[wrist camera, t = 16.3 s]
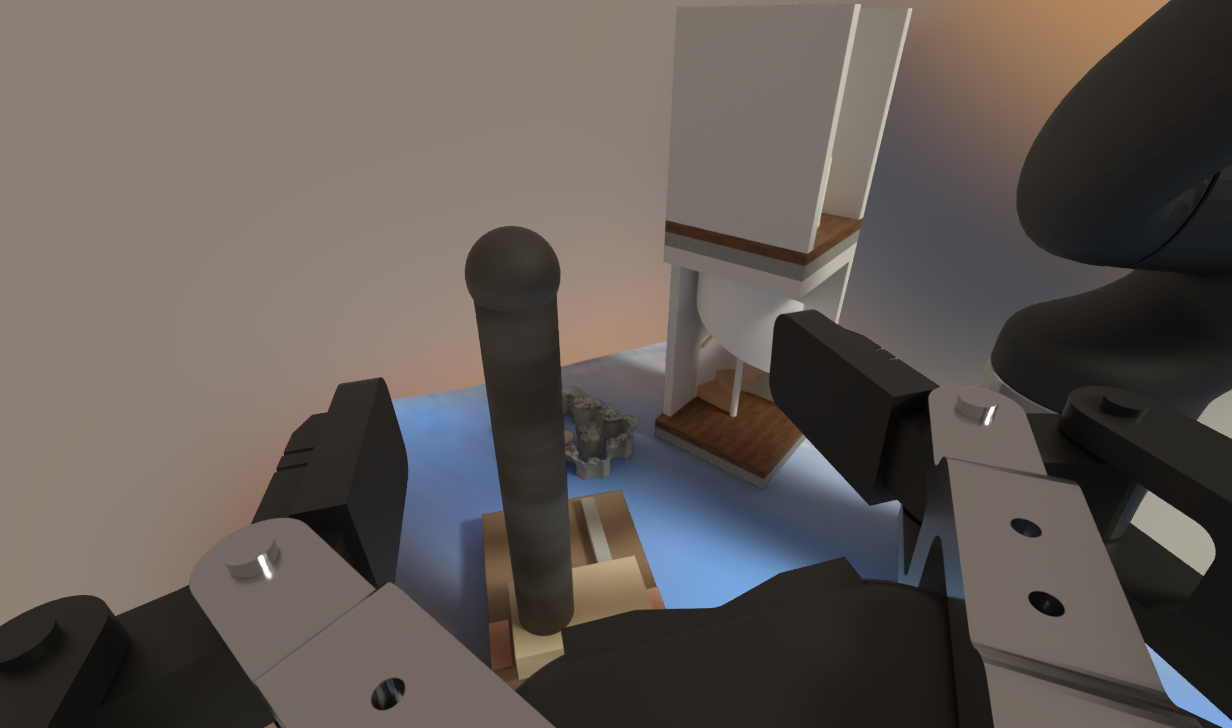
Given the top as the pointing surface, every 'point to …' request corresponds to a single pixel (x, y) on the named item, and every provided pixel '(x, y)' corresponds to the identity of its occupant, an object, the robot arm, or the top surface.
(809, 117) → the display case
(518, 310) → the knob-topped lever
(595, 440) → the egg carton
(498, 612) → the press base
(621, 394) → the top surface
